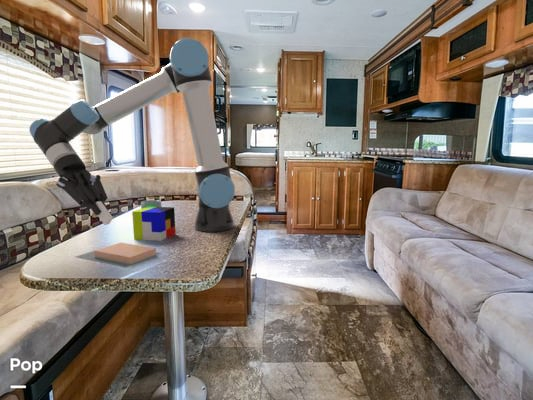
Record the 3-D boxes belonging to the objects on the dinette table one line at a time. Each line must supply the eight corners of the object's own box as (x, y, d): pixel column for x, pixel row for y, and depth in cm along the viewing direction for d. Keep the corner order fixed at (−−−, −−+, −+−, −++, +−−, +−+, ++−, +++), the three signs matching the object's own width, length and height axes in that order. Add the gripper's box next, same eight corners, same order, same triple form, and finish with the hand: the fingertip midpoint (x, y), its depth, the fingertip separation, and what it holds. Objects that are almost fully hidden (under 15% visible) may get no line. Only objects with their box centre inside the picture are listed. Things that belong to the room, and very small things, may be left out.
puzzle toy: (161, 242, 109) (159, 212, 108) (134, 240, 111) (132, 211, 110) (175, 234, 119) (174, 207, 118) (150, 233, 121) (148, 206, 120)
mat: (74, 258, 93) (74, 256, 93) (114, 246, 104) (114, 244, 104) (125, 269, 84) (125, 267, 84) (162, 254, 96) (162, 253, 96)
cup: (142, 224, 135) (141, 200, 134) (162, 223, 138) (161, 199, 136) (141, 229, 128) (140, 203, 126) (162, 227, 130) (161, 202, 129)
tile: (94, 250, 92) (130, 257, 86) (121, 242, 100) (155, 248, 94) (94, 257, 92) (130, 264, 86) (121, 248, 100) (156, 255, 94)
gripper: (81, 169, 106) (122, 225, 101) (39, 171, 95) (82, 234, 90) (91, 152, 103) (133, 209, 98) (48, 153, 91) (93, 217, 86)
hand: (108, 221), depth 94 cm, fingers closed
